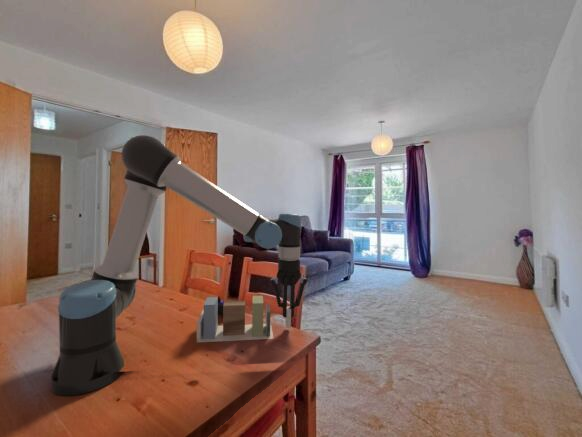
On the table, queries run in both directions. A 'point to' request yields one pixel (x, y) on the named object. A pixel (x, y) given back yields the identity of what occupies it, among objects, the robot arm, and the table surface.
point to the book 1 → (210, 317)
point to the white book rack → (220, 336)
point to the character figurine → (220, 306)
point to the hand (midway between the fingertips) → (288, 326)
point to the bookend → (267, 319)
